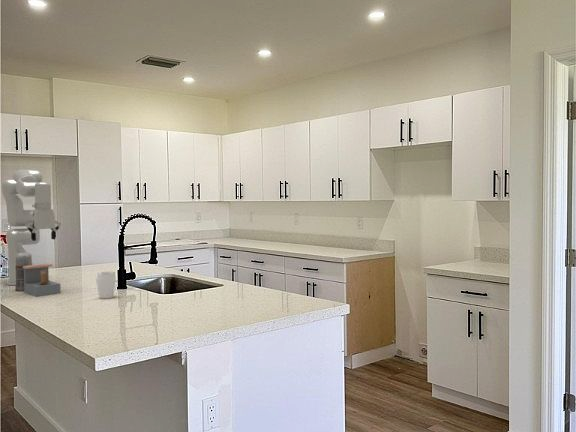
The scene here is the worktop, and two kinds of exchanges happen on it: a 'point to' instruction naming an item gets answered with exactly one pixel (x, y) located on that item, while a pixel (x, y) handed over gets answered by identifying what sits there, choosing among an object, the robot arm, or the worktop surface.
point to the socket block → (38, 281)
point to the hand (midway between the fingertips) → (43, 239)
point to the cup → (106, 284)
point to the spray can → (21, 269)
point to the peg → (44, 277)
